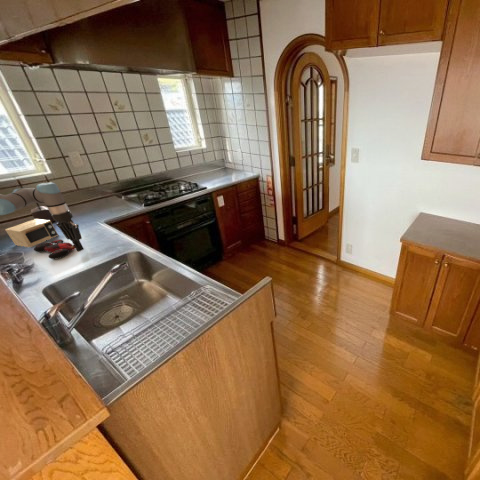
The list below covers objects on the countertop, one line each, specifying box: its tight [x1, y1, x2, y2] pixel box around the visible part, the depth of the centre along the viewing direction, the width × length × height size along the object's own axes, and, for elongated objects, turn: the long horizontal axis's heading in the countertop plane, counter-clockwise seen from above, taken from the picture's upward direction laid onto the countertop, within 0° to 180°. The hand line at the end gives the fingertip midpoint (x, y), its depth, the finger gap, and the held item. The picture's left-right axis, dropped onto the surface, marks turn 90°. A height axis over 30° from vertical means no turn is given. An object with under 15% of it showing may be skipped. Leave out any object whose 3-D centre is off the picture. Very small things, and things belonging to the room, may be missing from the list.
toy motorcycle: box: [33, 238, 76, 260], centre depth 154 cm, size 25×5×16 cm
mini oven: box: [4, 218, 59, 248], centre depth 163 cm, size 13×16×11 cm
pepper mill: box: [30, 202, 56, 223], centre depth 190 cm, size 16×11×18 cm
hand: (80, 250), depth 150 cm, fingers closed
